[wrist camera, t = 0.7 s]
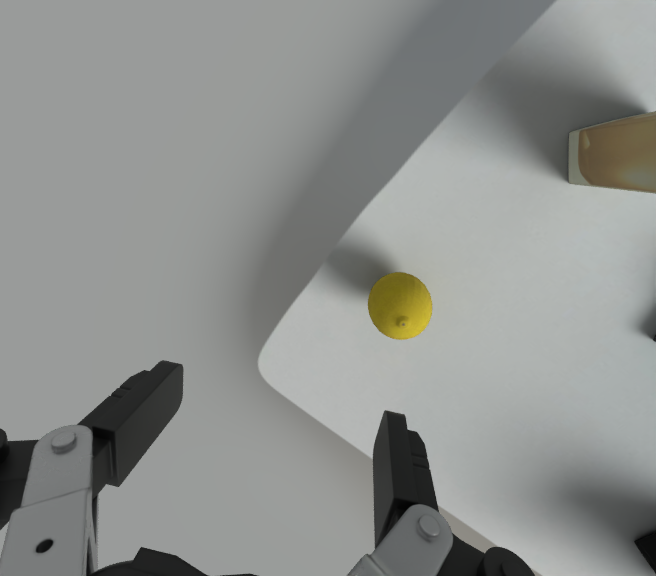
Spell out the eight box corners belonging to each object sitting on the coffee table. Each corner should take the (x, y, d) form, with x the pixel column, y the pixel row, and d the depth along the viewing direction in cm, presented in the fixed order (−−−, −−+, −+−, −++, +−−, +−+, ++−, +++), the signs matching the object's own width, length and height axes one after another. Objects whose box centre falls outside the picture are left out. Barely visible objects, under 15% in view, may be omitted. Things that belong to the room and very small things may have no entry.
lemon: (396, 251, 32) (406, 277, 24) (435, 289, 33) (456, 326, 25) (356, 288, 34) (353, 323, 26) (394, 324, 35) (401, 368, 27)
